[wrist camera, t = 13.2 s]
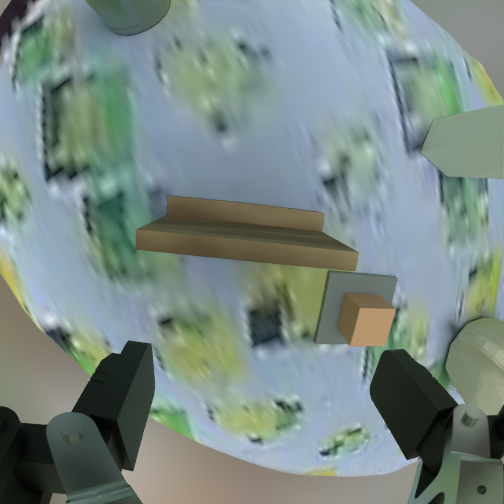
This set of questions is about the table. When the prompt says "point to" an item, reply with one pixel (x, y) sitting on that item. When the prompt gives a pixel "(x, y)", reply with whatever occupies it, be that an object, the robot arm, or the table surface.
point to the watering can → (479, 364)
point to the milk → (468, 144)
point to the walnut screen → (245, 234)
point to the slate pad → (334, 299)
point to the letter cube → (365, 319)
